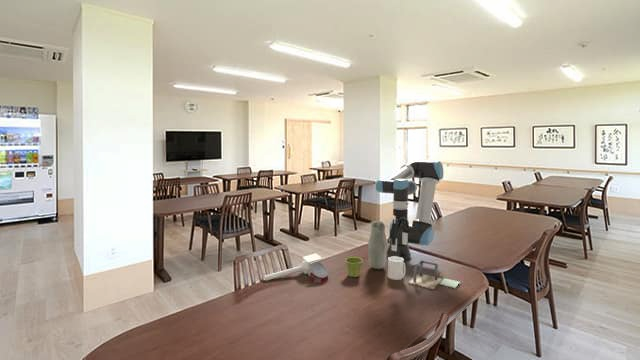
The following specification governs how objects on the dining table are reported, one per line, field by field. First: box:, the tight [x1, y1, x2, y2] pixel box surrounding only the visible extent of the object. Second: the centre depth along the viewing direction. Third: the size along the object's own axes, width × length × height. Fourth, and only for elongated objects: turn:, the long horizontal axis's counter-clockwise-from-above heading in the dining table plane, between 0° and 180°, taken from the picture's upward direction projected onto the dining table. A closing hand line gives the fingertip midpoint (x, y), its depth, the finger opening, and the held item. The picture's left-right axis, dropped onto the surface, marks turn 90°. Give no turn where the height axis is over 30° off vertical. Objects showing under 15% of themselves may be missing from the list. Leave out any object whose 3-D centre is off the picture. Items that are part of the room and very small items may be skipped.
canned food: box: [309, 261, 329, 284], centre depth 182 cm, size 11×10×10 cm
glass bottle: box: [367, 220, 388, 270], centre depth 195 cm, size 10×10×28 cm
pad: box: [439, 278, 461, 289], centre depth 173 cm, size 8×8×1 cm
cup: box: [387, 256, 407, 281], centre depth 182 cm, size 8×12×10 cm
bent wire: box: [412, 260, 439, 282], centre depth 176 cm, size 9×10×8 cm
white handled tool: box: [263, 253, 323, 282], centre depth 187 cm, size 9×9×32 cm
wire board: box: [407, 272, 443, 290], centre depth 177 cm, size 13×14×1 cm
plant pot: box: [345, 256, 363, 278], centre depth 186 cm, size 9×9×9 cm
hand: (399, 247), depth 181 cm, fingers open, 13 cm apart
